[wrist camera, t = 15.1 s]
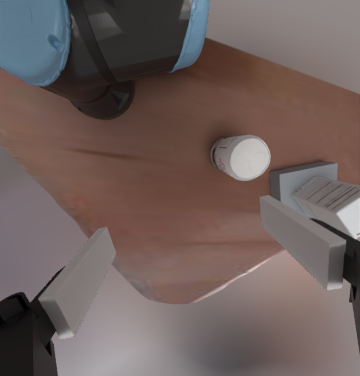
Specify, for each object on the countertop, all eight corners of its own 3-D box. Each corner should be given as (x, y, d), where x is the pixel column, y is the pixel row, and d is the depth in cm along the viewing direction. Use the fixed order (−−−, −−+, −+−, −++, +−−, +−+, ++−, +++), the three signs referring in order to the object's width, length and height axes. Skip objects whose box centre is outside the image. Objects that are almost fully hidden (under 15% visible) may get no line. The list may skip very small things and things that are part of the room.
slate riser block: (268, 171, 46) (279, 174, 41) (320, 160, 46) (337, 163, 41) (271, 218, 49) (282, 226, 45) (319, 208, 49) (335, 216, 44)
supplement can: (246, 144, 43) (282, 145, 29) (232, 174, 45) (259, 189, 31) (217, 132, 42) (240, 126, 28) (204, 163, 44) (219, 173, 30)
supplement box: (329, 196, 43) (392, 217, 31) (304, 214, 44) (355, 241, 32) (315, 174, 41) (374, 187, 29) (289, 194, 42) (336, 214, 30)
